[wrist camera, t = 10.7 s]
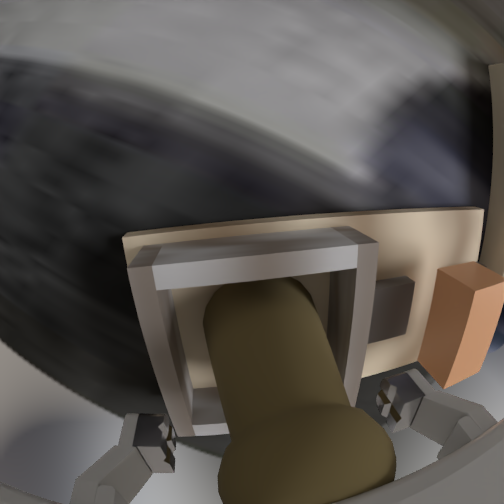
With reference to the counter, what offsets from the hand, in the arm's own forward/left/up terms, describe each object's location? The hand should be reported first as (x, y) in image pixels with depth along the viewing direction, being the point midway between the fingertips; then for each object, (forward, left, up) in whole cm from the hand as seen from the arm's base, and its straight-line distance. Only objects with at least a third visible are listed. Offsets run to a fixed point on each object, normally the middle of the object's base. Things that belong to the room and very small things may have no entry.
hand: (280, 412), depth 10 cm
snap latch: (+11, 0, -4) cm, 12 cm away
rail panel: (+5, 0, -7) cm, 9 cm away
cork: (0, 0, -6) cm, 6 cm away
